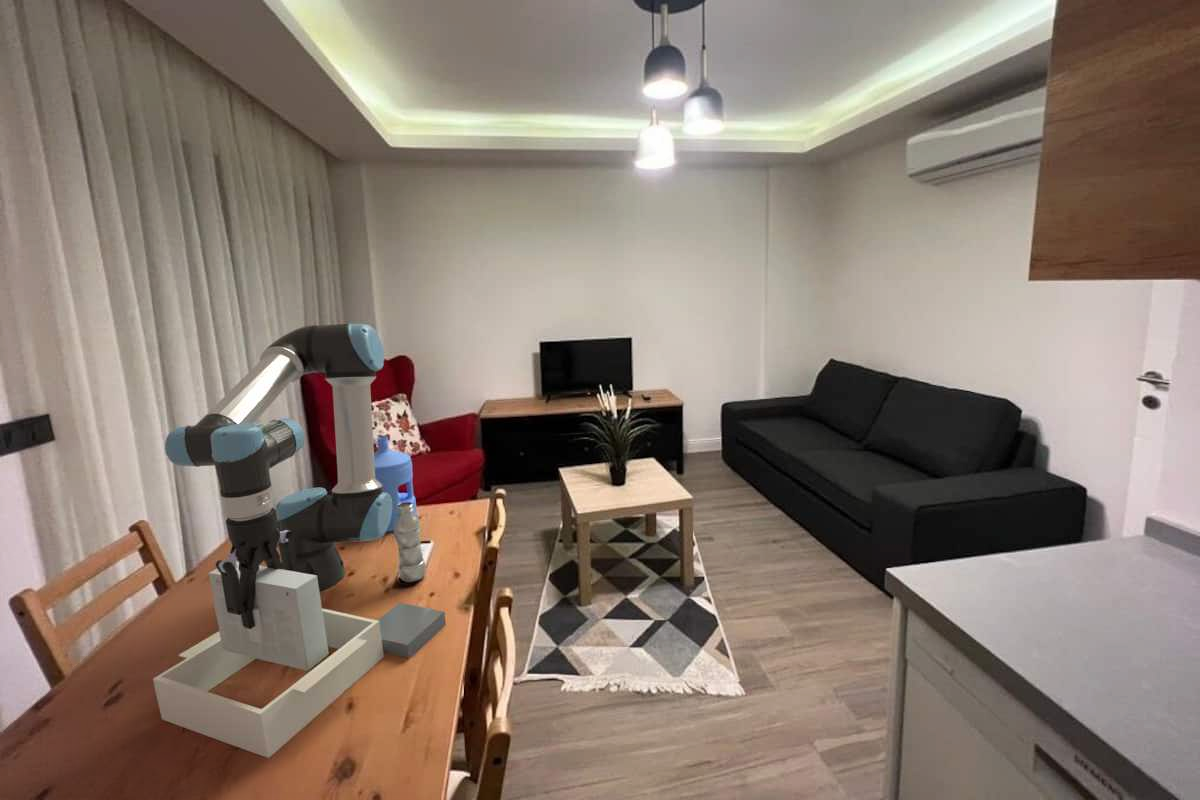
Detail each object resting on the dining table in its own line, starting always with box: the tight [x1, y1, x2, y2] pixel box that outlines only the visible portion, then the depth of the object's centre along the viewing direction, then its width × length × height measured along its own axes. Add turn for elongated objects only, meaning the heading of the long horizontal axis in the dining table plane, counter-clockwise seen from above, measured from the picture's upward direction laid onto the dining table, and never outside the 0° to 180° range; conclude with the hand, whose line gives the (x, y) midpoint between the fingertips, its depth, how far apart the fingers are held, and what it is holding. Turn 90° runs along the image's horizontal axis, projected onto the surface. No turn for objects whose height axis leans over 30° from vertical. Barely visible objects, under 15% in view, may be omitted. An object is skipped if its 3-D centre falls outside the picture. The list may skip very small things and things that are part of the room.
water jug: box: [374, 435, 419, 533], centre depth 173 cm, size 16×16×28 cm
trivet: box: [377, 602, 446, 659], centre depth 117 cm, size 12×12×3 cm
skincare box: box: [208, 561, 330, 672], centre depth 101 cm, size 21×6×16 cm, turn 71°
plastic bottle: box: [393, 502, 427, 583], centre depth 139 cm, size 6×7×20 cm
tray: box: [152, 607, 385, 759], centre depth 103 cm, size 31×26×8 cm
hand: (272, 630), depth 102 cm, fingers closed on skincare box, 5 cm apart
